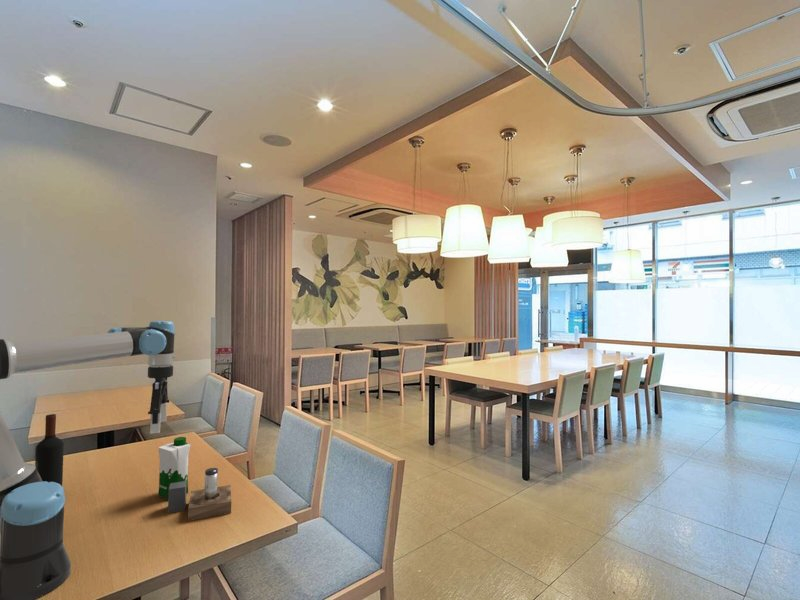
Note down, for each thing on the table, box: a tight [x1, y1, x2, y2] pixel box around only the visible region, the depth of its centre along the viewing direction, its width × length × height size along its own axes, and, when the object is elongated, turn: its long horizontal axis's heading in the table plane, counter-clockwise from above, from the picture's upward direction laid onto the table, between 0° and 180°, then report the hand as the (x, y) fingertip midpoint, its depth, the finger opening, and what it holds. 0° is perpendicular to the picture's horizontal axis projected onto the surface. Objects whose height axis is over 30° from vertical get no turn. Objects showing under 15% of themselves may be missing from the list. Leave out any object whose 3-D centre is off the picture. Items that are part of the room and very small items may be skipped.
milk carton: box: [157, 436, 192, 500], centre depth 146 cm, size 9×9×20 cm
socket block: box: [187, 484, 232, 522], centre depth 137 cm, size 13×13×4 cm
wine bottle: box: [34, 413, 65, 487], centre depth 141 cm, size 8×8×30 cm
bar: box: [167, 481, 187, 514], centre depth 136 cm, size 5×5×8 cm
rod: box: [204, 467, 219, 500], centre depth 137 cm, size 4×4×13 cm
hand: (158, 427), depth 135 cm, fingers open, 13 cm apart
